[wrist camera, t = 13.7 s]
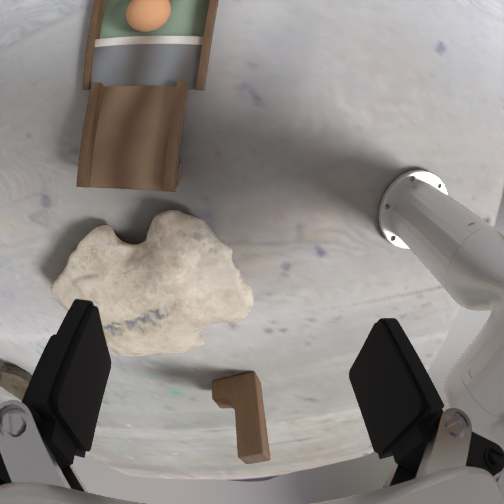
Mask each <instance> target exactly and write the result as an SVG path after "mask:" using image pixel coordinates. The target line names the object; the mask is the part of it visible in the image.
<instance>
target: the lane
mask: <svg viewBox="0 0 504 504" xmlns="http://www.w3.org/2000/svg"><path fill="white" fill-rule="evenodd" d="M131 1H132V0H95V2H94V7H93V12H92V18H91V23H90V29H89V35H88V42H87V50H86V58H85V67H84V77H83V90H90V89H91V92H90V96H89V101H88V106H87V111H86V117H85V123H84V129H83V135H82V142H81V149H80V157H79V165H78V175H77V186H76V187H96V188H120V189H138V190H155V191H170V192H175V189H176V187H177V185H178V183H179V181H180V179H181V168H182V163H181V162H178V161H179V153H180V145H181V137H182V130H183V123H184V116H185V109H186V103H187V96H188V89H196V90H205V82H206V75H207V68H208V61H209V54H210V47H211V41H212V35H213V29H214V23H215V17H216V11H217V6H218V1H219V0H169V2H170V5H171V14H170V17H169V19H168V20H167V22H166V23H165V24H164V25H163V26H161V27H160V28H158V29H156V30H154V31H149V32H141V31H137V30H135V29H133V28H132V27H131V26H130V25H129V24H128V22H127V19H126V10H127V7H128V5H129V4H130V2H131Z"/></svg>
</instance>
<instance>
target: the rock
mask: <svg viewBox="0 0 504 504" xmlns="http://www.w3.org/2000/svg"><path fill="white" fill-rule="evenodd" d="M51 292H52V294H53V295H54V296H55V297H56V298H57V299H58V300H59V301H60V303H61V304H62V305H63V306H65V307H66V308H67V309H68V310H69V309H70V307H71V305H72V303H73V301H74V300H75V299H82V300H89V301H92V302H93V304H94V306H97V307H98V309H99V313H100V318H101V322H102V327H103V331H104V335H105V339H106V343H107V347H108V348H110V349H111V350H112V351H114V352H115V353H117V354H118V355H120V356H145V355H149V354H155V353H171V354H177V353H182V352H185V351H188V350H190V349H192V348H195V347H202V346H204V345H205V339H204V338H203V337H202V336H201V332H202V330H203V329H204V328H205V327H206V326H208V325H210V324H213V323H216V322H222V321H223V322H228V323H235V322H238V321H240V320H243V319H244V318H245V317H246V315H247V314H248V313H249V312H250V310H251V308H252V306H253V303H254V298H253V292H252V289H251V288H250V287H249V286H248V285H247V284H246V283H245V282H244V280H243V278H242V276H241V273H240V270H239V269H238V268H237V267H235V266H234V264H233V262H232V248H231V247H230V246H229V245H227V244H226V243H224V242H223V241H222V240H221V239H220V238H219V237H218V236H217V235H216V234H215V233H214V232H213V231H212V230H211V229H210V228H209V227H208V226H207V224H206V223H205V221H204V220H203V219H201V218H196V217H194V216H192V215H187V214H184V213H182V212H181V211H177V210H168V211H164V212H161V213H159V214H158V215H156V216H155V217H154V218H153V220H152V222H151V225H150V228H149V230H148V233H147V238H146V240H145V241H144V242H142V243H140V244H128V243H125V242H123V241H121V240H120V239H119V238H118V237H117V236H116V234H115V232H114V230H113V228H112V227H111V226H109V225H102V226H98V227H96V228H95V229H93V230H92V231H91V232H90V233H89V234H87V235H86V236H85V237H84V238H83V239H82V240H81V241H80V242H79V244H78V246H77V248H76V250H75V251H74V252H72V253H71V254H70V256H69V259H68V262H67V265H66V267H65V269H64V270H63V272H62V273H61V274H60V275H59V277H58V279H57V280H56V281H55V282H54V283H53V285H52V287H51Z"/></svg>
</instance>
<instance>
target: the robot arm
mask: <svg viewBox="0 0 504 504" xmlns="http://www.w3.org/2000/svg"><path fill="white" fill-rule="evenodd" d="M379 225H380V229H381V231H382V233H383V235H384V236H385V238H386V239H387V240H388V241H389V242H390V243H391V244H393V245H394V246H397V247H399V248H405V249H408V248H410V250H411V251H412V252H413V253H414V254H415V255H416V256H417V257H418V258H419V259H420V261H421V262H422V263H423V264H424V265H425V266H426V267H427V269H428V270H429V271H430V272H431V273H432V274H433V275H434V277H435V278H436V279H437V280H438V281H439V282H440V284H441V285H442V286H443V287H444V288H445V290H446V291H447V292H448V293H449V294H450V295H451V297H452V298H453V299H454V300H455V301H456V302H457V303H458V304H459V305H461V306H462V307H464V308H466V309H470V310H476V311H485V310H486V311H487V310H491V314H490V317H489V318H488V320H487V322H486V323H485V325H484V326H483V328H482V330H481V331H480V332H479V334H478V335H477V336H476V338H475V339H474V340H473V341H472V343H471V344H470V345H469V347H468V348H467V349H466V350H465V352H464V353H463V354H462V355H461V357H460V358H459V359H458V360H457V362H456V363H455V364H454V365H453V367H452V368H451V370H450V371H449V373H448V375H447V377H446V380H445V384H444V394H445V399H446V402H447V404H448V406H449V407H450V408H449V409H447V410H445V411H444V412H443V410H442V408H443V407H444V404H443V402H442V400H441V398H440V396H439V394H438V392H437V390H436V388H435V386H434V385H433V383H432V381H431V379H430V377H429V375H428V373H427V371H426V369H425V368H424V366H423V364H422V362H421V360H420V359H419V357H418V355H417V353H416V351H415V350H414V348H413V346H412V344H411V343H410V341H409V339H408V337H407V336H406V334H405V332H404V331H403V329H402V327H401V325H400V324H399V322H398V321H397V319H395V318H382V319H380V320H379V321H378V322H377V323H375V324H374V326H373V328H372V330H371V331H370V333H369V335H368V337H367V339H366V341H365V343H364V345H363V347H362V349H361V351H360V353H359V354H358V356H357V358H356V360H355V362H354V364H353V365H352V367H351V369H350V372H349V378H350V381H351V384H352V387H353V390H354V393H355V396H356V399H357V401H358V404H359V407H360V410H361V413H362V416H363V419H364V422H365V425H366V428H367V431H368V434H369V437H370V440H371V443H372V446H373V449H374V451H375V452H376V453H378V454H379V458H380V459H382V458H386V457H390V456H394V459H395V462H394V464H393V466H392V469H391V471H390V473H389V476H388V478H387V480H386V482H385V484H384V486H383V488H382V489H378V490H375V491H371V492H367V493H363V494H359V495H354V496H350V497H345V498H341V499H335V500H329V501H324V502H318V503H311V504H504V236H503V235H502V234H501V233H500V232H498V231H497V230H496V229H494V228H493V227H492V226H490V225H489V224H488V223H487V222H485V221H484V220H483V219H481V218H480V217H478V216H477V215H476V214H474V213H473V212H472V211H470V210H469V209H467V208H466V207H465V206H463V205H462V204H460V203H459V202H457V201H456V200H454V199H453V198H451V197H450V196H448V195H447V191H446V188H445V186H444V184H443V182H442V181H441V180H440V178H438V177H437V176H436V175H434V174H433V173H431V172H429V171H425V170H412V171H408V172H406V173H404V174H402V175H401V176H399V177H398V178H396V179H395V180H394V181H393V182H392V183H391V184H390V186H389V187H388V189H387V190H386V192H385V194H384V195H383V197H382V200H381V203H380V207H379ZM110 369H111V358H110V355H109V351H108V347H107V343H106V339H105V335H104V331H103V327H102V322H101V318H100V313H99V309H98V307H97V306H94V304H93V302H92V301H89V300H82V299H75V300H74V301H73V303H72V305H71V307H70V309H69V311H68V312H67V314H66V316H65V318H64V320H63V322H62V324H61V326H60V328H59V330H58V332H57V334H56V335H53V336H51V338H50V339H49V341H48V343H47V345H46V347H45V349H44V351H43V353H42V355H41V358H40V360H39V362H38V364H37V366H36V369H35V371H34V373H33V375H32V378H31V380H30V382H29V385H28V387H27V390H26V392H25V395H24V397H23V400H22V402H19V401H16V400H9V401H5V402H3V403H1V404H0V504H145V503H138V502H131V501H126V500H120V499H115V498H110V497H104V496H100V495H96V494H91V493H88V491H87V490H86V488H85V487H84V485H83V483H82V482H81V480H80V478H79V477H78V475H77V473H76V471H75V470H74V468H73V466H72V464H73V460H74V456H75V455H76V456H80V457H83V458H84V457H85V452H86V451H90V449H91V446H92V441H93V437H94V432H95V428H96V423H97V419H98V415H99V411H100V407H101V403H102V399H103V395H104V391H105V387H106V384H107V380H108V376H109V373H110Z"/></svg>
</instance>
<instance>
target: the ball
mask: <svg viewBox="0 0 504 504" xmlns="http://www.w3.org/2000/svg"><path fill="white" fill-rule="evenodd" d="M170 14H171V5H170V2H169V0H132V1H131V2H130V4H129V5H128V7H127V10H126V19H127V22H128V24H129V25H130V26H131V27H132V28H133V29H135V30H137V31H141V32H149V31H154V30H156V29H158V28H160V27H161V26H163V25H164V24H165V23H166V22H167V20H168V19H169V17H170Z"/></svg>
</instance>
